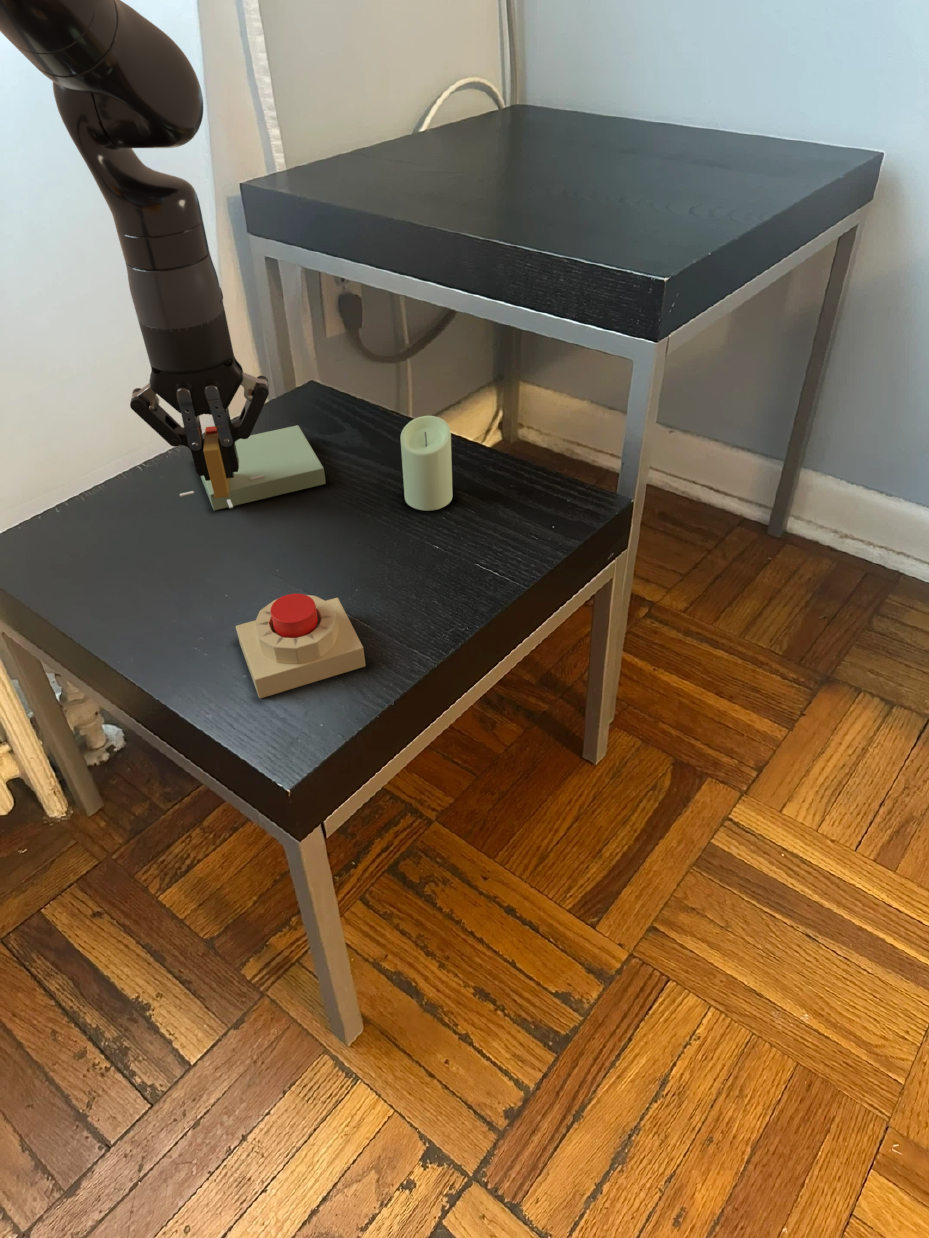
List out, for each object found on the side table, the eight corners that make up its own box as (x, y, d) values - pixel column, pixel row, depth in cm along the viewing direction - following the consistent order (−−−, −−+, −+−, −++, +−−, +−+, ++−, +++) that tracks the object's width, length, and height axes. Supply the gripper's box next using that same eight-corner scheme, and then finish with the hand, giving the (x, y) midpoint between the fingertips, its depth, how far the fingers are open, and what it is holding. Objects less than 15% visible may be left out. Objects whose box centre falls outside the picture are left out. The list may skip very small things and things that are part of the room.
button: (280, 643, 70) (276, 627, 69) (269, 616, 73) (265, 600, 72) (323, 631, 71) (320, 614, 70) (311, 604, 74) (308, 588, 73)
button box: (259, 699, 71) (250, 663, 68) (240, 644, 75) (231, 609, 73) (365, 666, 73) (361, 631, 71) (340, 615, 78) (335, 580, 75)
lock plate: (192, 535, 87) (187, 517, 86) (169, 469, 97) (165, 452, 95) (335, 500, 92) (332, 482, 90) (300, 440, 101) (298, 423, 99)
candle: (444, 514, 89) (442, 444, 84) (398, 507, 90) (392, 437, 85) (458, 488, 93) (456, 418, 88) (413, 481, 94) (409, 412, 89)
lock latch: (229, 497, 89) (217, 447, 85) (214, 498, 89) (202, 448, 85) (229, 473, 92) (218, 424, 88) (215, 475, 92) (204, 426, 88)
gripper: (95, 333, 74) (148, 504, 86) (258, 317, 76) (289, 487, 88) (105, 299, 80) (154, 464, 91) (257, 285, 82) (286, 448, 93)
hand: (220, 474), depth 89 cm, fingers closed
